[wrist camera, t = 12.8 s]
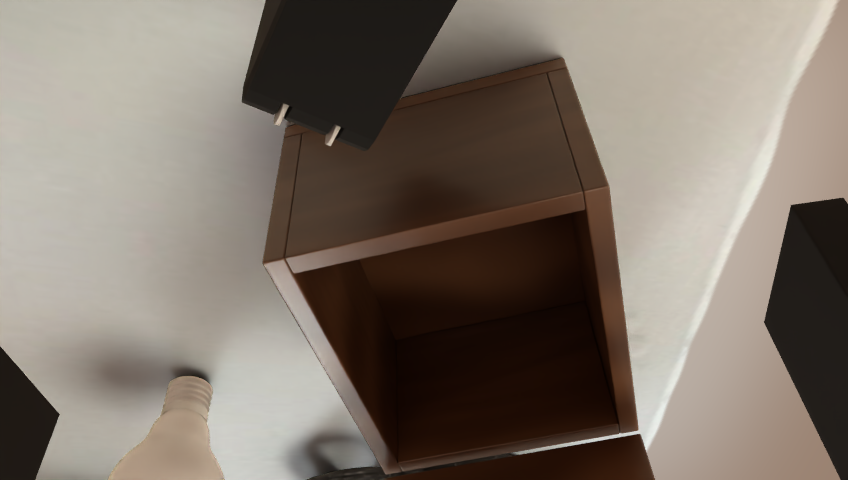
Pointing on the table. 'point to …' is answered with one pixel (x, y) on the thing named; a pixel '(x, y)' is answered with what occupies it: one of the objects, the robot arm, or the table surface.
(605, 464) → the lid
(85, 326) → the table surface
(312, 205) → the chest
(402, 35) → the electronic device
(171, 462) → the lightbulb
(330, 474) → the milk frother
